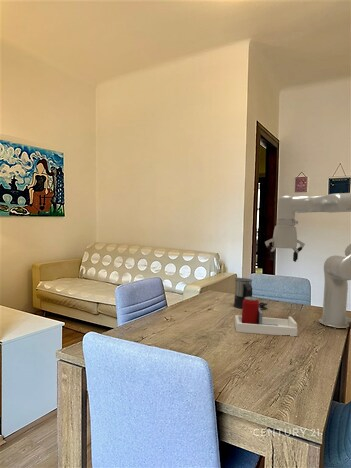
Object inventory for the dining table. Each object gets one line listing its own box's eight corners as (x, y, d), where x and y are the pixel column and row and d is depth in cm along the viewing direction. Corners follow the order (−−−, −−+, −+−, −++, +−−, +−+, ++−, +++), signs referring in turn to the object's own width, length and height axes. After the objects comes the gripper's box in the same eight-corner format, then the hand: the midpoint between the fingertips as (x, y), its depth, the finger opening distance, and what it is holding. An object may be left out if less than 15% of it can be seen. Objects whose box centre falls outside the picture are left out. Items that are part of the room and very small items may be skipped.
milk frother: (229, 305, 174) (231, 278, 174) (252, 302, 182) (253, 276, 181) (247, 312, 162) (248, 283, 161) (270, 309, 169) (272, 281, 169)
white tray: (290, 327, 141) (291, 316, 141) (296, 336, 130) (297, 324, 130) (234, 323, 144) (235, 311, 144) (236, 331, 133) (237, 319, 133)
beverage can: (256, 324, 141) (257, 296, 140) (258, 329, 134) (260, 300, 134) (240, 322, 141) (242, 295, 141) (242, 328, 135) (243, 299, 134)
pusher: (276, 324, 141) (277, 308, 140) (280, 331, 132) (281, 314, 132) (256, 322, 142) (257, 307, 141) (259, 329, 133) (259, 313, 133)
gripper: (303, 223, 149) (301, 260, 150) (264, 222, 151) (263, 258, 152) (308, 224, 141) (305, 263, 142) (267, 222, 143) (265, 260, 144)
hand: (283, 260), depth 147 cm, fingers open, 9 cm apart
